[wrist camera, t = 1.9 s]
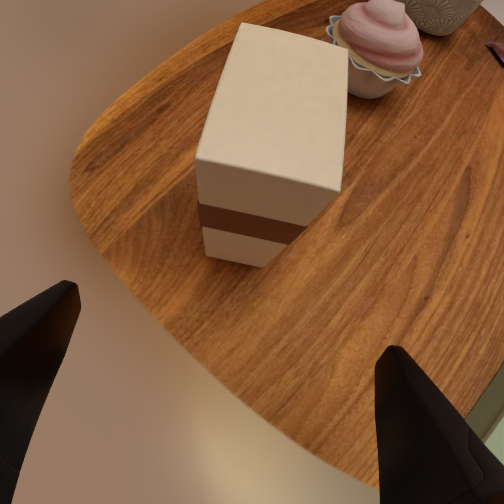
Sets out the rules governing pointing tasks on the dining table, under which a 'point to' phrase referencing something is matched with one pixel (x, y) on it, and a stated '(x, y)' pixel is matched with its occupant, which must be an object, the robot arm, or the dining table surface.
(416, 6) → the planter
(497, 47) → the snack package
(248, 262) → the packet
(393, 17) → the cupcake
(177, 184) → the dining table surface
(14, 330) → the robot arm
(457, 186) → the dining table surface
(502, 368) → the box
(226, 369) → the dining table surface
